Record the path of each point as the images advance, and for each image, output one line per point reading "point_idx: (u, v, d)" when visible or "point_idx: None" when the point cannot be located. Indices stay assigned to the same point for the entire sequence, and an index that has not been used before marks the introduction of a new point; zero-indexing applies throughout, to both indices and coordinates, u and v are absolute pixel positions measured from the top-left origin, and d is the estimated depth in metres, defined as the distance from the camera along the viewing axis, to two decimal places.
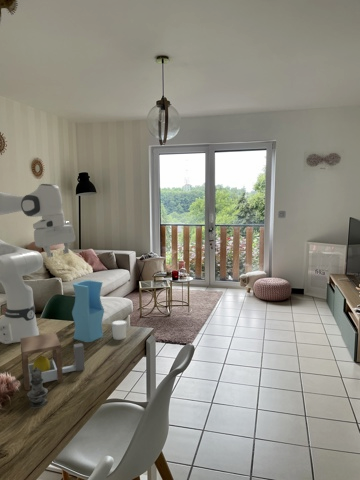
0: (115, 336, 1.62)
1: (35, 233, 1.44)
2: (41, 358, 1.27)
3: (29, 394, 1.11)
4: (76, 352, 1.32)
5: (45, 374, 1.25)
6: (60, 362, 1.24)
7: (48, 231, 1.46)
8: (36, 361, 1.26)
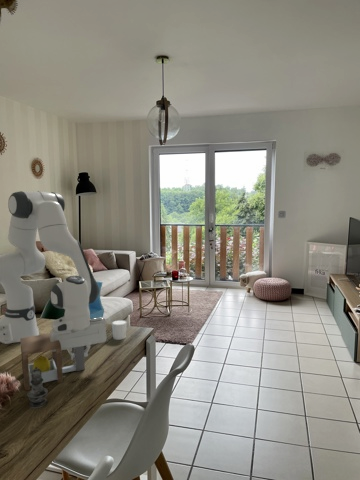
0: (115, 336, 1.62)
1: (50, 333, 1.30)
2: (41, 358, 1.27)
3: (29, 394, 1.11)
4: (76, 352, 1.32)
5: (45, 374, 1.25)
6: (60, 362, 1.24)
7: (62, 334, 1.28)
8: (36, 361, 1.26)
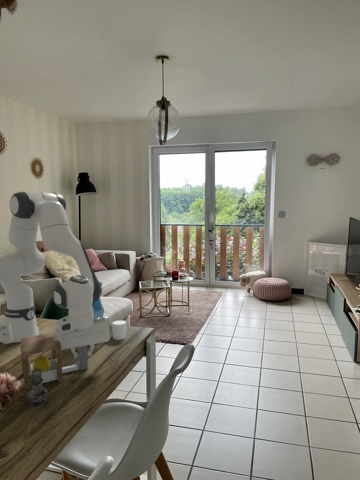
0: (115, 336, 1.62)
1: (54, 333, 1.30)
2: (41, 358, 1.27)
3: (29, 394, 1.11)
4: (79, 351, 1.32)
5: (49, 373, 1.25)
6: (60, 362, 1.24)
7: (66, 333, 1.29)
8: (36, 361, 1.26)
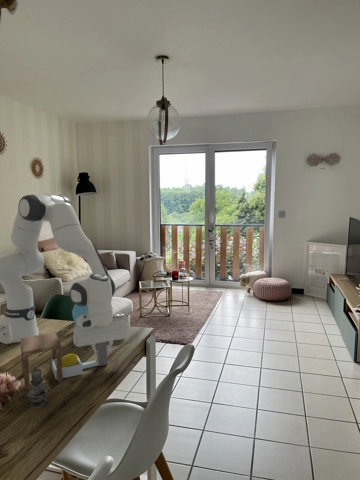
0: None
1: (74, 329, 1.33)
2: (76, 357, 1.32)
3: (29, 394, 1.11)
4: (99, 347, 1.36)
5: (70, 369, 1.28)
6: (60, 362, 1.24)
7: (86, 330, 1.32)
8: (71, 356, 1.31)
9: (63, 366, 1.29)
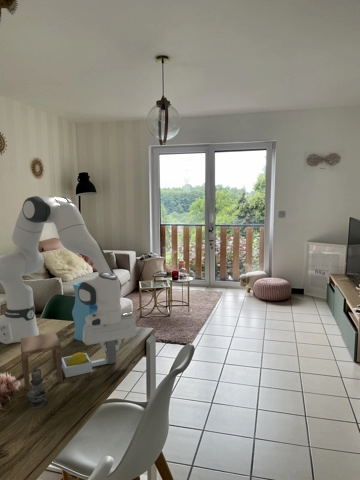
0: None
1: (83, 328, 1.35)
2: (85, 356, 1.33)
3: (29, 394, 1.11)
4: (108, 346, 1.37)
5: (80, 367, 1.30)
6: (60, 362, 1.24)
7: (96, 328, 1.34)
8: (81, 355, 1.32)
9: (72, 364, 1.30)
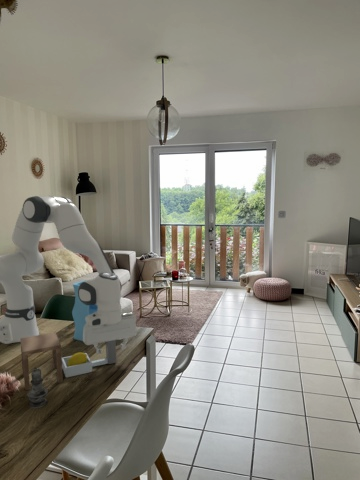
0: None
1: (84, 328, 1.35)
2: (85, 356, 1.33)
3: (29, 394, 1.11)
4: (108, 346, 1.37)
5: (80, 367, 1.30)
6: (60, 362, 1.24)
7: (96, 328, 1.34)
8: (81, 354, 1.32)
9: (73, 364, 1.30)
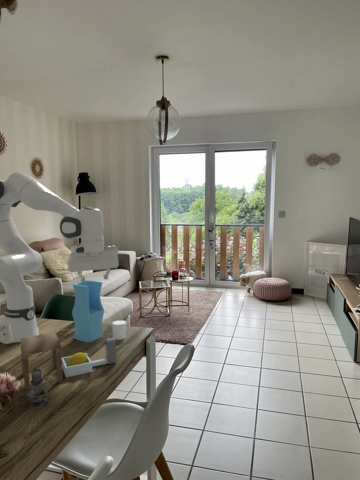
0: (115, 336, 1.62)
1: (69, 257, 1.45)
2: (85, 356, 1.33)
3: (29, 394, 1.11)
4: (108, 346, 1.37)
5: (80, 367, 1.30)
6: (60, 362, 1.24)
7: (80, 257, 1.44)
8: (81, 354, 1.32)
9: (73, 364, 1.30)
